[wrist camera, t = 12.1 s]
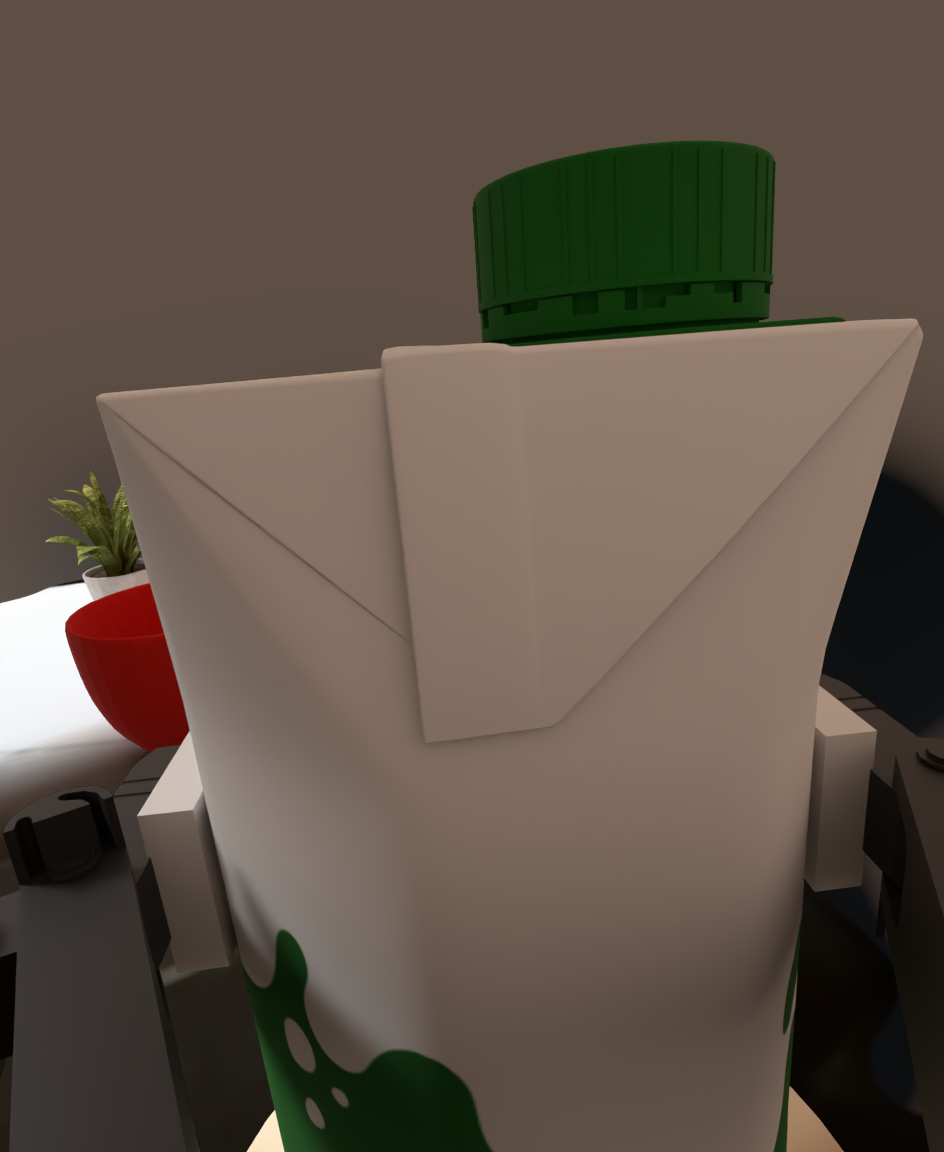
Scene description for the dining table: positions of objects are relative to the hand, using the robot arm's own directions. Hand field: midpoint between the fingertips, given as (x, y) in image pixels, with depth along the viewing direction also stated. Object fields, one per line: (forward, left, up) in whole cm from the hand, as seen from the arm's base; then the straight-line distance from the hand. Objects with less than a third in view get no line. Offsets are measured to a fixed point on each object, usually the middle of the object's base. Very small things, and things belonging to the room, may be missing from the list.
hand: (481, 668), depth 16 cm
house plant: (-55, -32, -17) cm, 65 cm away
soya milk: (+5, 0, -11) cm, 12 cm away
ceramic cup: (-32, -19, -17) cm, 40 cm away
